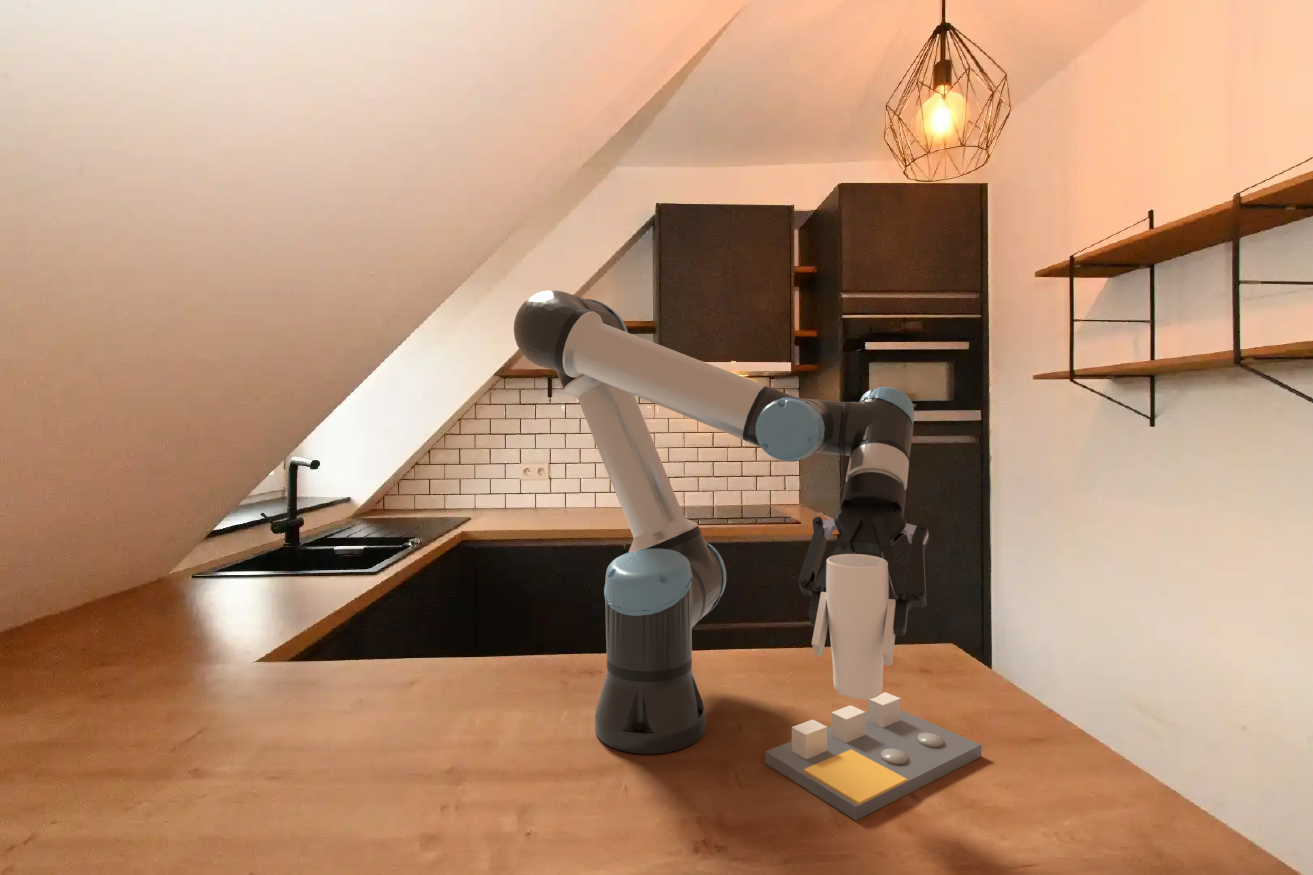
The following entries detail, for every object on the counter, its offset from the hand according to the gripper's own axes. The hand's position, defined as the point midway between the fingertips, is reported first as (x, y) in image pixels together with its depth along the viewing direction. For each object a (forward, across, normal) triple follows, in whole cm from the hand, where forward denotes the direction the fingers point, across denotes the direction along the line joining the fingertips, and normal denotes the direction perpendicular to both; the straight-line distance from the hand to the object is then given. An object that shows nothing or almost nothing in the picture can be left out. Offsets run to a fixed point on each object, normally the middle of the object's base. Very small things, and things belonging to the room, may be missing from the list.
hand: (851, 654), depth 73 cm
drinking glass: (+1, 0, -6) cm, 7 cm away
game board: (+4, 0, -20) cm, 20 cm away
